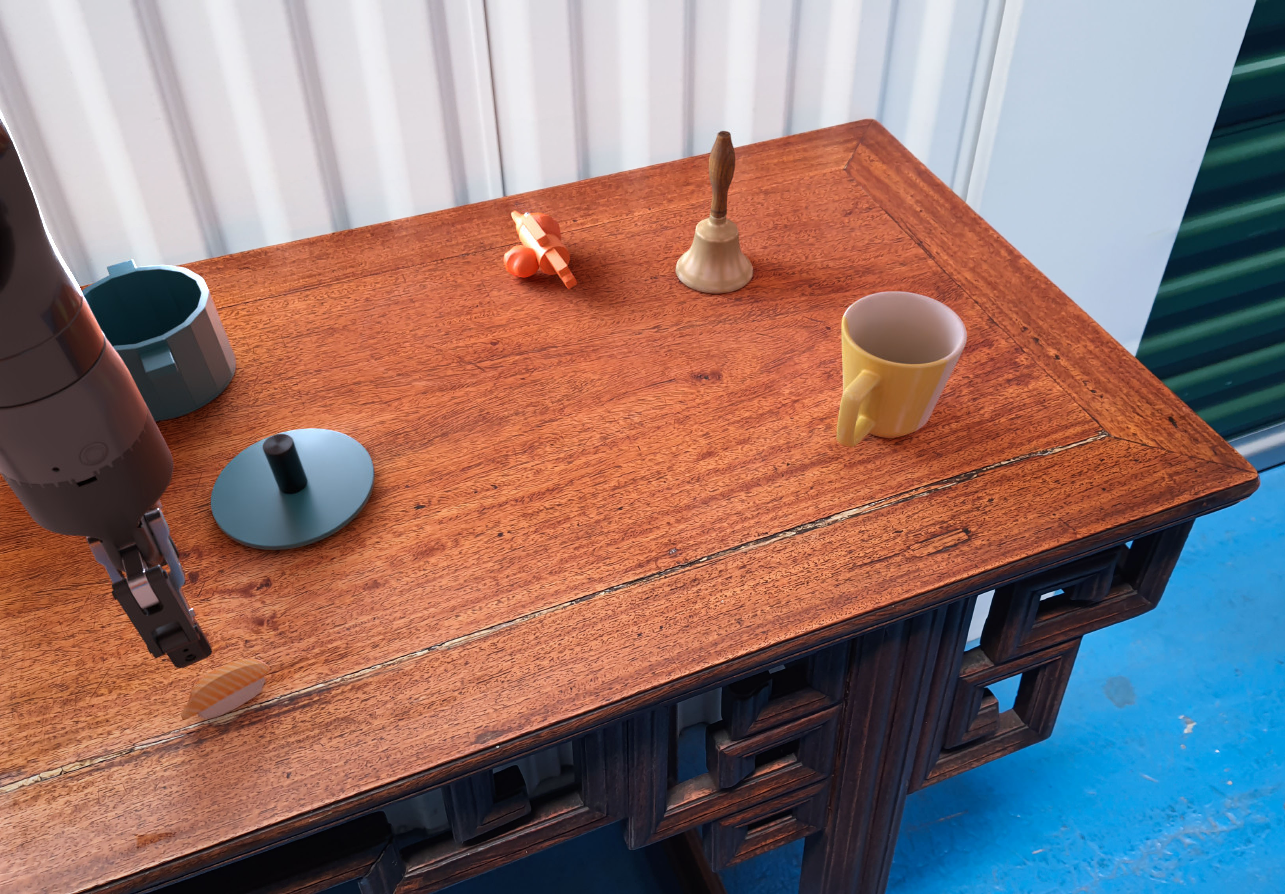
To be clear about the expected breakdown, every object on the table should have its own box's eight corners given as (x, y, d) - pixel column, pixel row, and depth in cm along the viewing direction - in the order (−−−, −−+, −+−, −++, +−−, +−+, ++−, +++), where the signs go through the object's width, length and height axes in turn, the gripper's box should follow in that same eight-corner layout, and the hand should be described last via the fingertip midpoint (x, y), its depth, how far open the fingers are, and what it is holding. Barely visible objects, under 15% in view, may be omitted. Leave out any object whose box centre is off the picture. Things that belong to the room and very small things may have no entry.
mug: (877, 364, 95) (896, 274, 88) (964, 420, 90) (992, 329, 82) (777, 430, 89) (788, 339, 82) (864, 494, 84) (885, 403, 76)
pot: (119, 458, 87) (79, 387, 81) (84, 347, 98) (46, 277, 92) (259, 408, 92) (231, 336, 86) (211, 307, 103) (183, 237, 96)
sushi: (280, 688, 71) (269, 665, 69) (193, 738, 69) (178, 716, 66) (266, 663, 73) (254, 640, 71) (179, 711, 70) (164, 688, 68)
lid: (238, 580, 78) (214, 532, 74) (197, 473, 86) (174, 424, 82) (399, 512, 83) (386, 464, 78) (346, 417, 91) (331, 368, 87)
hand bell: (755, 251, 109) (767, 114, 97) (750, 297, 103) (762, 157, 91) (680, 245, 109) (683, 109, 98) (670, 291, 104) (673, 151, 92)
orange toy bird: (581, 246, 99) (536, 189, 107) (518, 285, 99) (477, 225, 107) (598, 280, 103) (553, 223, 111) (537, 318, 103) (496, 258, 111)
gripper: (-26, 373, 54) (96, 557, 66) (6, 549, 46) (140, 724, 57) (117, 327, 57) (210, 511, 68) (174, 485, 48) (269, 665, 60)
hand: (178, 608), depth 63 cm, fingers open, 8 cm apart
